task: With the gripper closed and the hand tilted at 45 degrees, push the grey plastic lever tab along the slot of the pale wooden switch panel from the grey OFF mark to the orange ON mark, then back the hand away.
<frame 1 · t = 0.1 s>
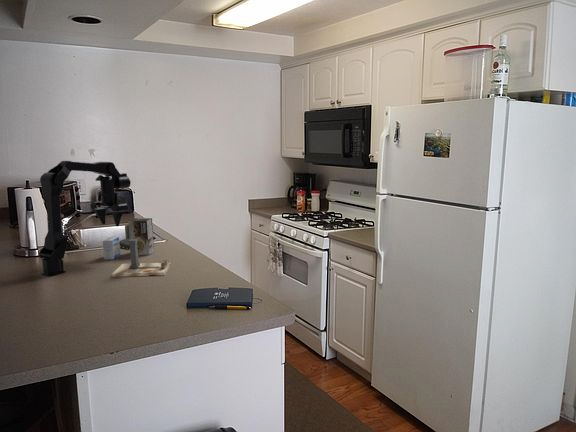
hand: (110, 225, 204), 15 cm above the worktop, tool pointing down, fingers open, 9 cm apart
switch tab: (134, 253, 183), point 7 cm above the worktop, slide at 0.0 cm
coffee box: (142, 253, 213), on the worktop
media streaming box: (136, 246, 230), on the worktop
medicine box: (112, 257, 206), on the worktop
switch panel: (142, 270, 185), on the worktop
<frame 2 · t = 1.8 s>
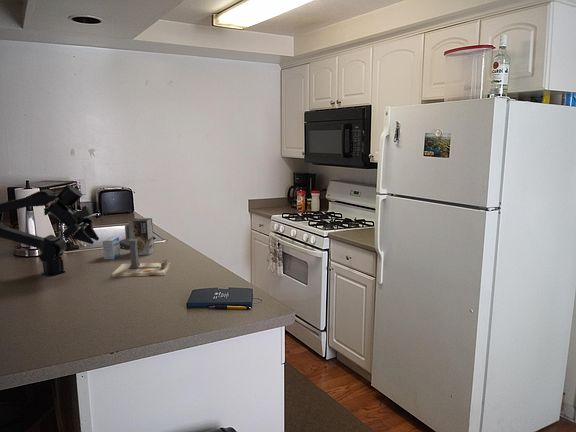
hand: (95, 241, 181), 13 cm above the worktop, tool tilted 45°, fingers open, 6 cm apart
nothing on the worktop moved.
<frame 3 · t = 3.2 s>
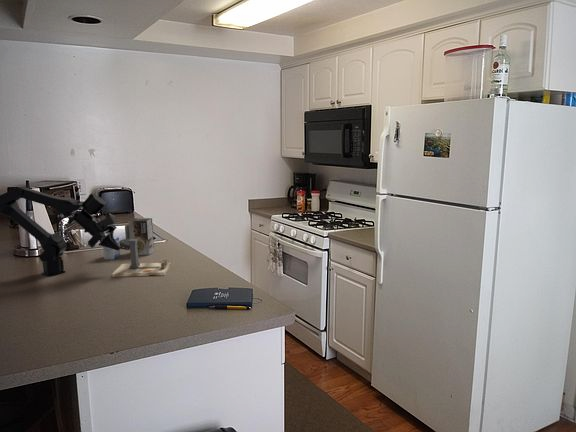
hand: (119, 249, 182), 9 cm above the worktop, tool tilted 45°, fingers closed
nothing on the worktop moved.
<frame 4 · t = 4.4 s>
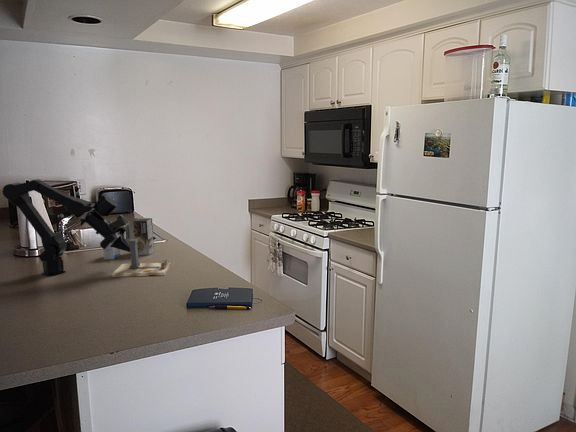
hand: (130, 251, 183), 8 cm above the worktop, tool tilted 45°, fingers closed, pressing on switch tab
switch tab: (134, 253, 183), point 7 cm above the worktop, slide at 0.0 cm, touching gripper
everything else where it was.
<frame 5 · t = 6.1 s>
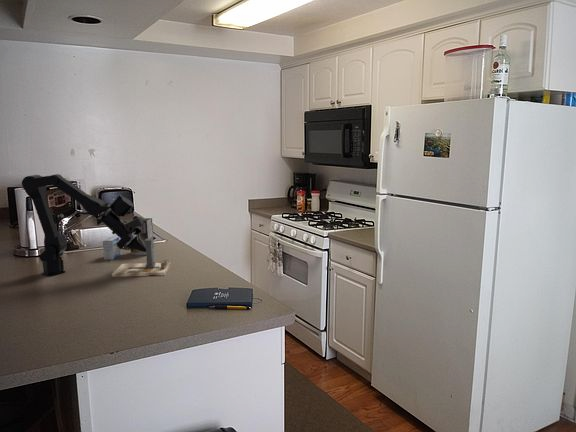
hand: (146, 251, 183), 8 cm above the worktop, tool tilted 45°, fingers closed, pressing on switch tab
switch tab: (149, 253, 184), point 7 cm above the worktop, slide at 6.2 cm, touching gripper
everything else where it was.
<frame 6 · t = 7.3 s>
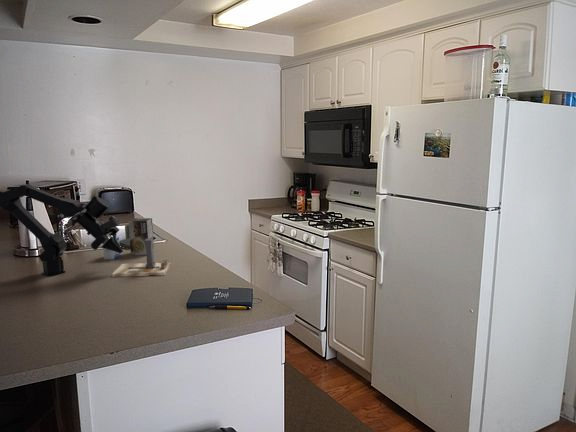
hand: (122, 252, 183), 8 cm above the worktop, tool tilted 45°, fingers closed
switch tab: (149, 253, 184), point 7 cm above the worktop, slide at 6.2 cm
everything else where it was.
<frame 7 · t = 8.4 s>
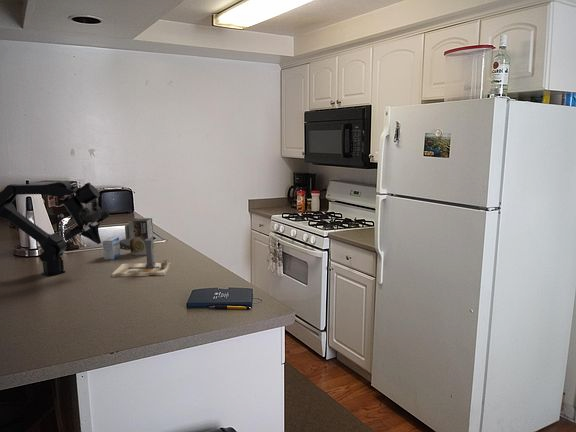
hand: (99, 243, 181), 12 cm above the worktop, tool tilted 30°, fingers closed
nothing on the worktop moved.
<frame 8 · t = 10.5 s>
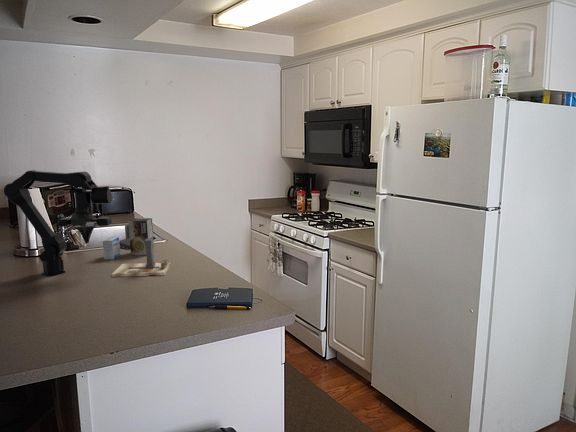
hand: (87, 243, 181), 12 cm above the worktop, tool pointing down, fingers closed
nothing on the worktop moved.
at the end: switch tab slide at 6.2 cm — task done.
